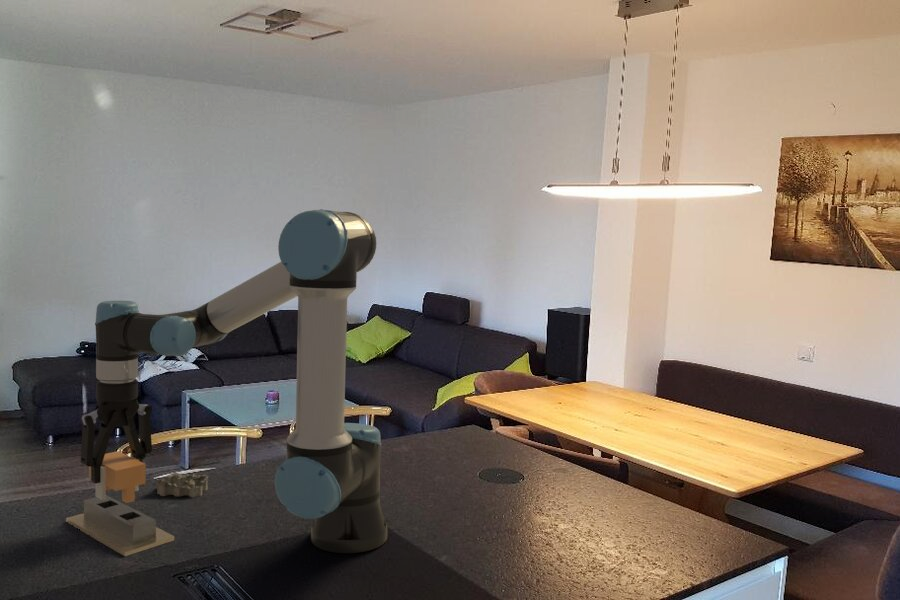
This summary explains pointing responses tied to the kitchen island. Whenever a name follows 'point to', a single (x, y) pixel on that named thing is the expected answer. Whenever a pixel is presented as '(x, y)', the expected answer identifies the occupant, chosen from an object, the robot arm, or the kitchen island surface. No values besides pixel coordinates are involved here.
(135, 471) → the orange toy brick
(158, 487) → the egg carton
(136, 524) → the beige grey stepped block
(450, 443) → the kitchen island surface
